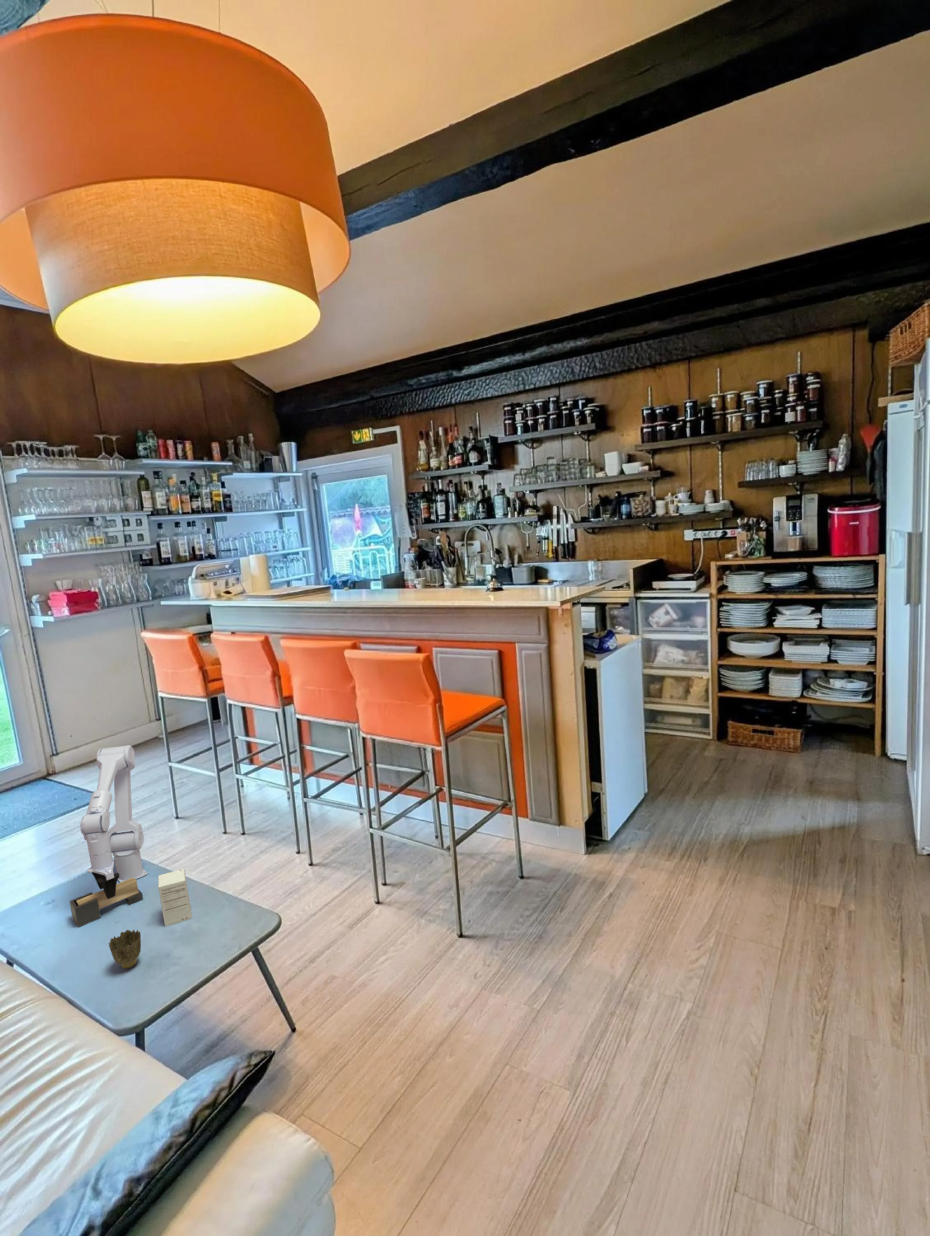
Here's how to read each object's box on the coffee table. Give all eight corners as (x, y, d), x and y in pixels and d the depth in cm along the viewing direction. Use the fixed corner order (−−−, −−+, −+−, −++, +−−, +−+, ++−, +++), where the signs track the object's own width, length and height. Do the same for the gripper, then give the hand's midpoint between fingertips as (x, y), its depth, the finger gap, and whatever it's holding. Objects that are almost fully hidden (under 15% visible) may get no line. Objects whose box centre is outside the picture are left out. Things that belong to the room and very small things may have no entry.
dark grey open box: (72, 919, 192) (69, 901, 191) (95, 910, 196) (91, 892, 195) (78, 927, 188) (74, 909, 187) (100, 918, 192) (97, 899, 191)
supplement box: (164, 914, 192) (157, 875, 190) (191, 906, 195) (185, 867, 193) (164, 927, 185) (157, 887, 183) (192, 919, 188) (185, 879, 186)
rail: (78, 913, 192) (76, 901, 191) (135, 889, 203) (133, 877, 202) (81, 917, 190) (78, 904, 189) (138, 892, 201) (136, 880, 200)
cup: (137, 952, 175) (132, 925, 174) (150, 962, 170) (145, 935, 169) (108, 968, 170) (103, 940, 168) (120, 979, 165) (115, 951, 164)
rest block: (123, 898, 202) (122, 892, 202) (136, 892, 205) (135, 886, 204) (129, 905, 198) (128, 899, 197) (143, 899, 200) (142, 893, 200)
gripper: (78, 848, 196) (86, 889, 198) (92, 865, 186) (99, 908, 188) (104, 839, 201) (111, 879, 203) (118, 855, 190) (125, 897, 193)
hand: (107, 892), depth 196 cm, fingers open, 7 cm apart
